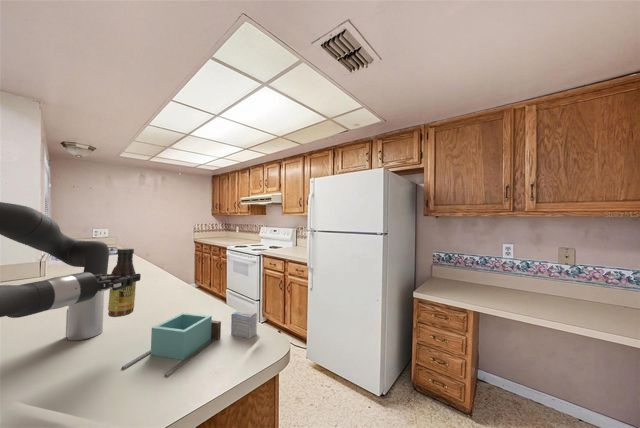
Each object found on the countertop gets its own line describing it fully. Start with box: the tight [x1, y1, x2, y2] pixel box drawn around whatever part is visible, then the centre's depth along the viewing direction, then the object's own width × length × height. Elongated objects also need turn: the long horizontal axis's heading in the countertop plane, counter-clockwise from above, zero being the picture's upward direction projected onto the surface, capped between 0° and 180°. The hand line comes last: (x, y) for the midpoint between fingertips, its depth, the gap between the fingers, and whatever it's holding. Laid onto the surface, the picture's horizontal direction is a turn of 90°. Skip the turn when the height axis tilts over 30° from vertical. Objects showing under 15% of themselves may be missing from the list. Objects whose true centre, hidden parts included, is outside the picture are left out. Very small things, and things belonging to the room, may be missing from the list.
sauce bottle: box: [107, 247, 137, 318], centre depth 76 cm, size 6×6×20 cm
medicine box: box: [230, 309, 258, 339], centre depth 89 cm, size 8×4×9 cm, turn 71°
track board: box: [121, 320, 222, 378], centre depth 77 cm, size 16×22×7 cm
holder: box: [150, 312, 213, 361], centre depth 79 cm, size 11×12×8 cm
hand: (130, 276), depth 79 cm, fingers closed on sauce bottle, 6 cm apart
